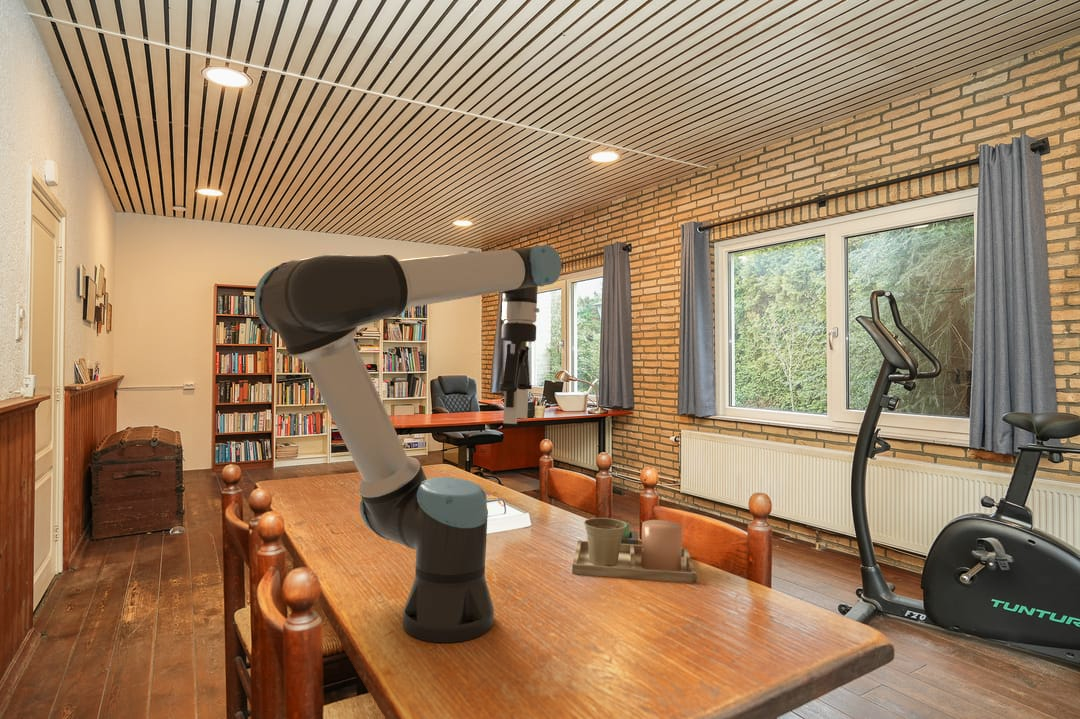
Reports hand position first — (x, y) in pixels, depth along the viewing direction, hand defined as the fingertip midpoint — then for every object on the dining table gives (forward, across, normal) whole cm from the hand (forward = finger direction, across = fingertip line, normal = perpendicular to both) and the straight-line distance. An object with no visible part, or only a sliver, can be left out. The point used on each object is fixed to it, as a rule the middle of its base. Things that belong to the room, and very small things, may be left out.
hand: (515, 420), depth 130 cm
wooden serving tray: (+31, +5, -26) cm, 41 cm away
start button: (+31, +20, -24) cm, 44 cm away
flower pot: (+31, +5, -20) cm, 37 cm away
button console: (+31, +20, -24) cm, 44 cm away
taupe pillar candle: (+31, +5, -32) cm, 45 cm away
